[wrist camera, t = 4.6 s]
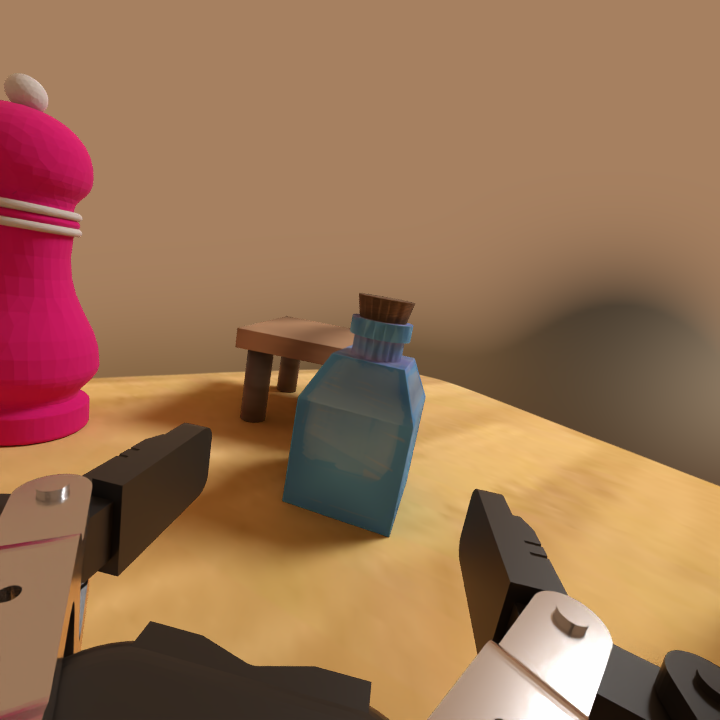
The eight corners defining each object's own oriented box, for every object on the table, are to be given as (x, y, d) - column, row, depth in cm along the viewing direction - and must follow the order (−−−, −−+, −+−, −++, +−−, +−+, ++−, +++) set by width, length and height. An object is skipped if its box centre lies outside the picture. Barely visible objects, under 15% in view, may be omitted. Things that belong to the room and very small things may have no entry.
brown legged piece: (383, 405, 41) (397, 337, 39) (374, 452, 29) (393, 358, 28) (277, 382, 42) (286, 316, 40) (227, 419, 30) (237, 327, 29)
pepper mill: (-12, 401, 26) (-22, 79, 22) (109, 406, 29) (121, 119, 25) (-91, 451, 20) (-125, 5, 15) (76, 451, 22) (85, 71, 18)
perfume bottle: (282, 501, 21) (314, 286, 19) (321, 456, 27) (350, 289, 25) (389, 537, 20) (439, 310, 17) (406, 482, 26) (445, 307, 23)
